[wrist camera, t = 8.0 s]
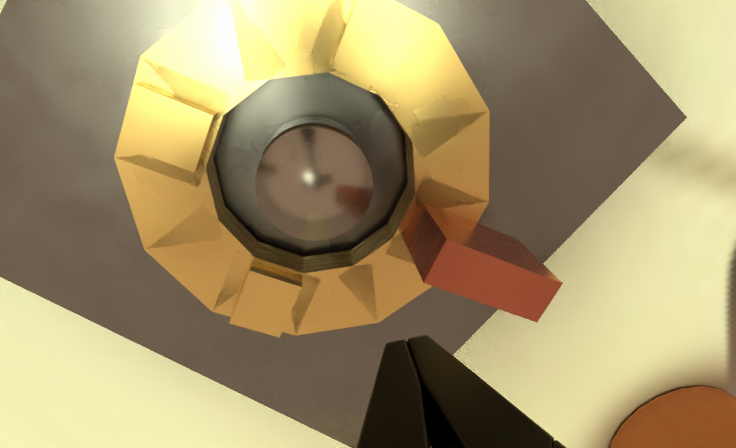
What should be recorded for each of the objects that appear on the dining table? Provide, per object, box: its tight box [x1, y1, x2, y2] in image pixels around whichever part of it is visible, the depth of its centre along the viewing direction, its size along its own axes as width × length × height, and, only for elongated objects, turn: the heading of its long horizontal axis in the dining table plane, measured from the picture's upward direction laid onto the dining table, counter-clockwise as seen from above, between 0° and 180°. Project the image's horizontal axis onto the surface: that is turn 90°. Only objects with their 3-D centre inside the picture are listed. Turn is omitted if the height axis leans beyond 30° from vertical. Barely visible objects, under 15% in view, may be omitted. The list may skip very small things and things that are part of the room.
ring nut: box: [114, 0, 563, 338], centre depth 15 cm, size 15×13×5 cm
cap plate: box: [0, 0, 687, 448], centre depth 17 cm, size 22×22×4 cm
